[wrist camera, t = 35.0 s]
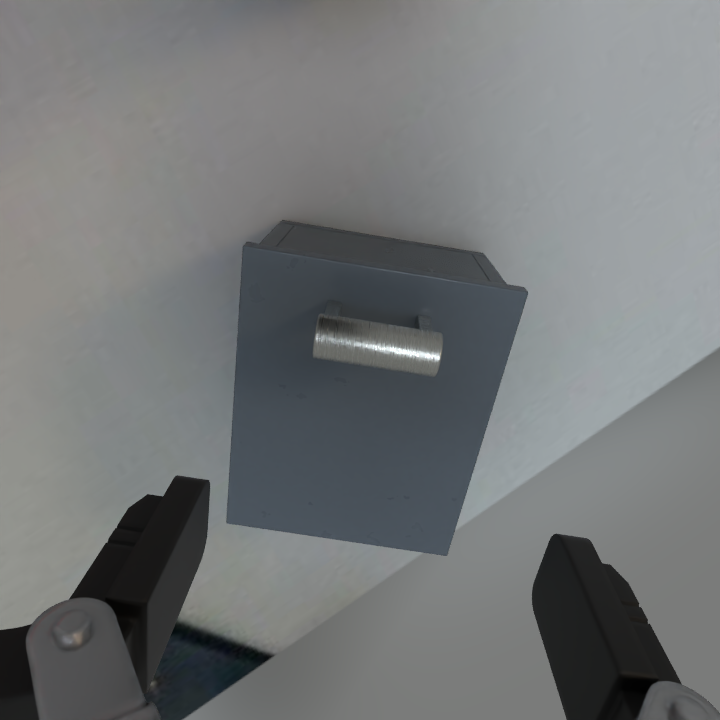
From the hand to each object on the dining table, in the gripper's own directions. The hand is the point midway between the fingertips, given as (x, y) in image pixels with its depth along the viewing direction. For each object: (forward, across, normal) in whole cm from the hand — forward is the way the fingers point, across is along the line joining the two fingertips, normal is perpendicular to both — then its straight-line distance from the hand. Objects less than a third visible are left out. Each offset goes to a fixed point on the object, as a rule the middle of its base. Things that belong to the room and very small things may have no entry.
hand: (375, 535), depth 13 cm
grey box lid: (+18, 0, +7) cm, 19 cm away
